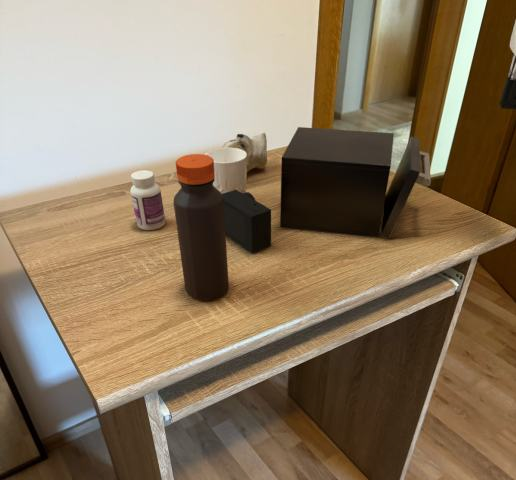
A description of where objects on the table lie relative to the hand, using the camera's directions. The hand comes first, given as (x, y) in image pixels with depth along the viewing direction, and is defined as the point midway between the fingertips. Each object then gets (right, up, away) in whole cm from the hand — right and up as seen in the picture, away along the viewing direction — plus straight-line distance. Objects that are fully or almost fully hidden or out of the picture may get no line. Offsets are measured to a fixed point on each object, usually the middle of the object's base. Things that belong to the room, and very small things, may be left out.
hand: (510, 107), depth 76 cm
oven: (-25, -12, +18) cm, 33 cm away
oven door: (-14, -13, +16) cm, 25 cm away
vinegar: (-47, -29, 0) cm, 55 cm away
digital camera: (-42, -18, +12) cm, 47 cm away
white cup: (-46, -9, +22) cm, 51 cm away
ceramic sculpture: (-44, +1, +34) cm, 55 cm away
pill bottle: (-60, -15, +16) cm, 63 cm away
